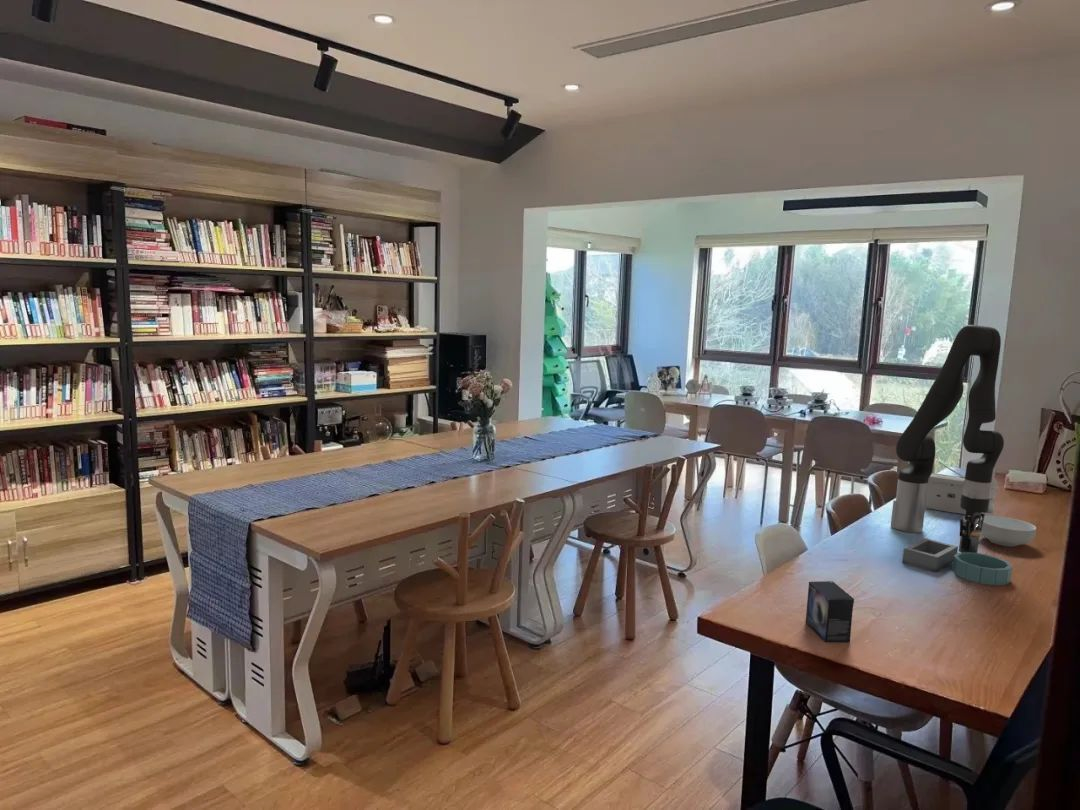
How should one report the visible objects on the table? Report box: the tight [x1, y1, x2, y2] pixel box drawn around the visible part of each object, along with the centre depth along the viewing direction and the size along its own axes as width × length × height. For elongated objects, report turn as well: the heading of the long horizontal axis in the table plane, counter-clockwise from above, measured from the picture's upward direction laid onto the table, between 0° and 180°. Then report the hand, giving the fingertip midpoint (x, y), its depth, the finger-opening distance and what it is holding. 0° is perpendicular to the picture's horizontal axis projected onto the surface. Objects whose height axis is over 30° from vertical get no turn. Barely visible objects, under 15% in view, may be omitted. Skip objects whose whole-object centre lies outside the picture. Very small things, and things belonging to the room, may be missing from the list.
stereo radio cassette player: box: [925, 458, 966, 515], centre depth 279 cm, size 21×8×20 cm, turn 58°
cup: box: [951, 552, 1013, 586], centre depth 212 cm, size 14×14×4 cm
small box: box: [805, 580, 855, 643], centre depth 171 cm, size 11×6×10 cm, turn 5°
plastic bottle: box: [985, 469, 999, 516], centre depth 263 cm, size 6×7×20 cm
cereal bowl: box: [980, 515, 1037, 548], centre depth 244 cm, size 17×17×7 cm
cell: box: [958, 527, 981, 553], centre depth 228 cm, size 5×5×8 cm
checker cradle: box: [902, 537, 959, 573], centre depth 222 cm, size 10×16×4 cm, turn 132°
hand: (968, 547), depth 228 cm, fingers closed on cell, 5 cm apart
